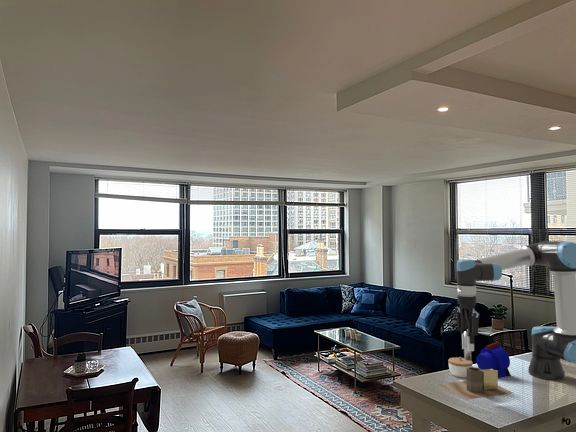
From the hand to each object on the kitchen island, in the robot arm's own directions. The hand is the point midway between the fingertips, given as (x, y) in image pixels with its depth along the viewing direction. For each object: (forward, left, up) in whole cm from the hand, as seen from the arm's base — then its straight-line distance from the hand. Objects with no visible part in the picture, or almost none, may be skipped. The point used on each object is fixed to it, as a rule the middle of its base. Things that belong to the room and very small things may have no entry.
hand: (468, 349), depth 183 cm
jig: (-3, 0, -18) cm, 18 cm away
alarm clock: (-28, -17, -18) cm, 37 cm away
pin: (0, 0, -4) cm, 4 cm away
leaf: (-8, +3, -17) cm, 19 cm away
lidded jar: (-9, -17, -18) cm, 27 cm away
